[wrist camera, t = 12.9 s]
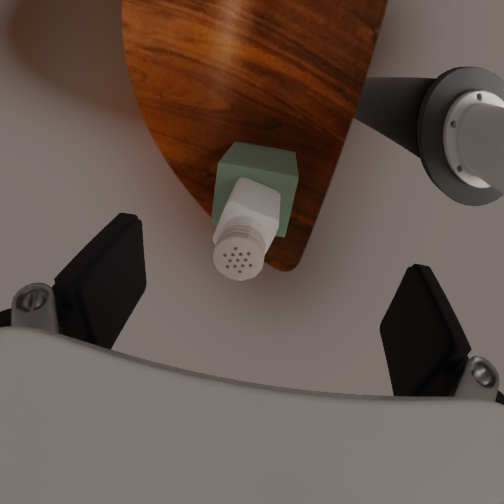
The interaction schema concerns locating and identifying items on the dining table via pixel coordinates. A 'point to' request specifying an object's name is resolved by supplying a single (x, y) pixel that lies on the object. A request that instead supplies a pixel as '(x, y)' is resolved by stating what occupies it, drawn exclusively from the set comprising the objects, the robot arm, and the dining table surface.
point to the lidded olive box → (257, 176)
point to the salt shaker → (246, 229)
